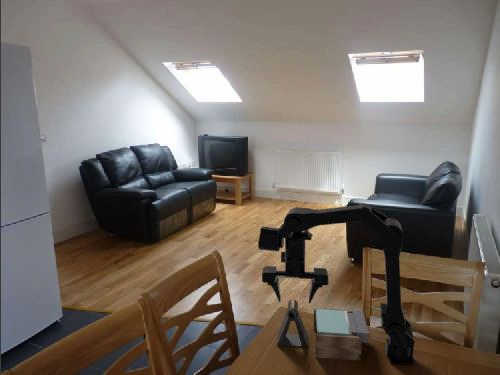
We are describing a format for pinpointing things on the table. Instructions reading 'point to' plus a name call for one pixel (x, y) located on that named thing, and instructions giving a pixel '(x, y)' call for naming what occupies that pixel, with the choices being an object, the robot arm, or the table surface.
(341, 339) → the trapdoor frame
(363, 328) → the trapdoor
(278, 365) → the table surface
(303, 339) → the phone stand
